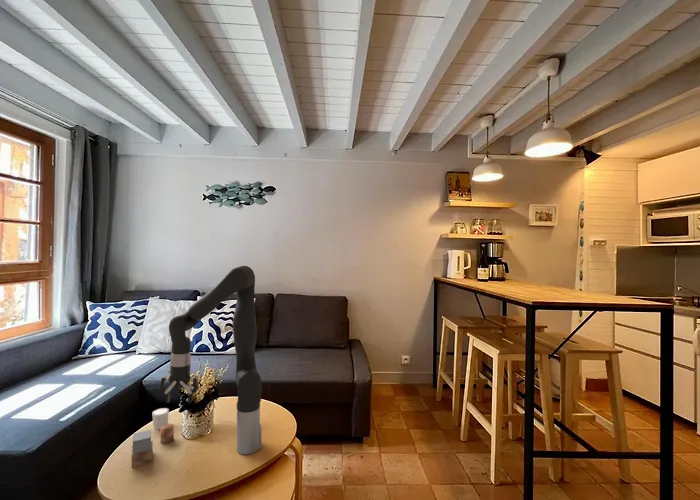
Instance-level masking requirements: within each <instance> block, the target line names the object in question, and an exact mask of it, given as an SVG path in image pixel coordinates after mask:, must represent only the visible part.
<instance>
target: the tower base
mask: <svg viewBox="0 0 700 500" xmlns="http://www.w3.org/2000/svg"><path fill="white" fill-rule="evenodd" d="M152 463H154V443H153V440H151V450H149V451H145V452H141V453H137V454H133V444H132V445H131V469H132V468H136V466H137V467H139V466H140V467H141V466H144V465H148V464H152Z"/></svg>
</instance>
